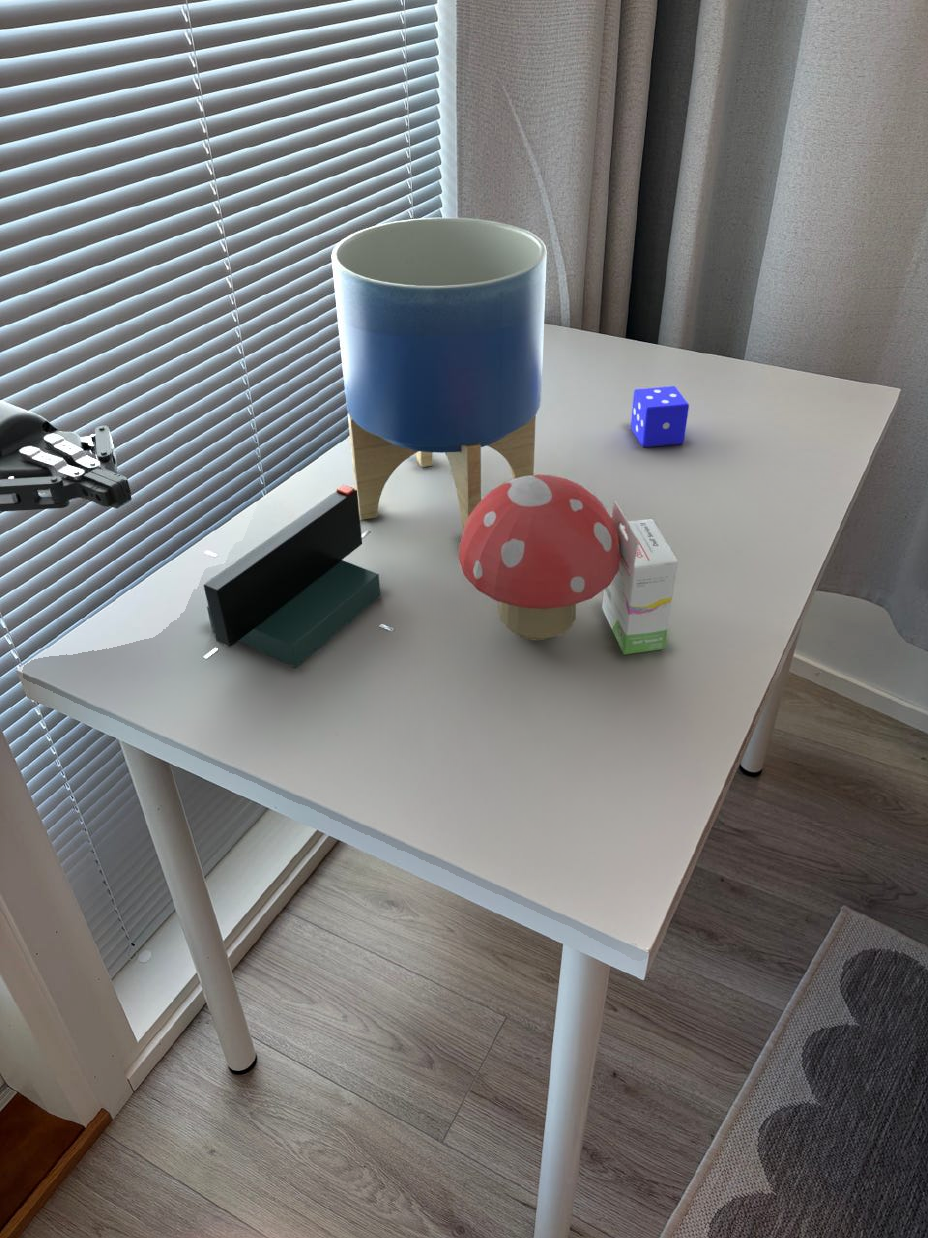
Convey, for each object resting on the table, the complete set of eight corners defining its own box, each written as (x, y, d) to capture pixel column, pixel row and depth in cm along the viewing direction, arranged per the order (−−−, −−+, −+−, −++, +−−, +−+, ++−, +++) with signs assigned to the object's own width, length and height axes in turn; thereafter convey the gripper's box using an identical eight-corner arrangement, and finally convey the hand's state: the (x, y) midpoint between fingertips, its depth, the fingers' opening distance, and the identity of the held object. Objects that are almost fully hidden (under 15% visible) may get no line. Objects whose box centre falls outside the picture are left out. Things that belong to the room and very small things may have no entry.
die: (642, 447, 110) (646, 407, 107) (629, 427, 114) (634, 388, 110) (684, 443, 110) (689, 404, 107) (670, 424, 114) (675, 385, 111)
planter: (339, 472, 106) (312, 229, 90) (501, 445, 111) (504, 208, 94) (380, 568, 92) (357, 299, 76) (564, 532, 96) (580, 270, 80)
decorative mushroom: (441, 605, 87) (434, 461, 78) (574, 574, 91) (583, 433, 81) (491, 700, 78) (491, 548, 68) (639, 662, 81) (658, 512, 71)
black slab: (230, 647, 79) (216, 588, 75) (216, 641, 80) (202, 582, 76) (362, 544, 91) (357, 487, 87) (349, 539, 92) (343, 482, 88)
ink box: (667, 650, 82) (685, 537, 75) (622, 656, 81) (636, 542, 74) (641, 602, 87) (656, 492, 80) (600, 607, 87) (610, 497, 79)
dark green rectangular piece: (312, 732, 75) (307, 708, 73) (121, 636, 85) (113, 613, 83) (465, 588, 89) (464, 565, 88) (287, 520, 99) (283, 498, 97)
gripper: (-88, 435, 80) (44, 492, 73) (42, 376, 89) (172, 422, 81) (-56, 510, 85) (71, 570, 78) (64, 447, 94) (190, 497, 86)
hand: (123, 494), depth 80 cm, fingers closed
